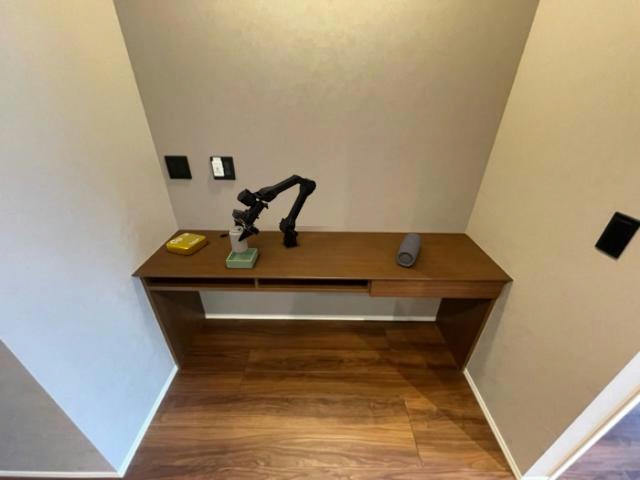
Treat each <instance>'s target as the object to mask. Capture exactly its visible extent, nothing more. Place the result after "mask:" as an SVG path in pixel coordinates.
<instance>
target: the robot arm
mask: <svg viewBox="0 0 640 480" xmlns="http://www.w3.org/2000/svg"><path fill="white" fill-rule="evenodd" d="M296 185H299V188H298V189H299V191H298V192H299V193H298V195H297V197H296V198H295V200H294V202H293V204H292V207H291V209H290V210H289V213H288V215H287V216H286V217H285V218H284V217H282V218H281V220H280V222H279V223H278V229H279V231H281V233H282V234H283V237H282V244H283V245H284V246H285V248H287V249H289V248H292V247H297V246H299V244H298V241H297V237H298V236H299V232H298V231H297V230H296V225H297V223H296V221H297V220H298V217H299V215H300V214H301V211H302V209H303V207H304V205H305V203H306V201H307V199H308V197H309V196H311V195H312V194H313V193H314V192H315V190H316V188H317V183H316V181H315V180H314V179H311V178H308V177H302V176H300V175H298V174H292V175H291V176H289V177H288V178H285V179H284V180H281V181H280V182H278V183H276V184H274V185H269V186H264V187H261V188H260V189H258V190H256V191H254V192H251V190H249V189H248V188H245V189H244V190H241V191H240V192H239V193H238V194H237V197H236V200H237V201H238V202H240V203H241V204H242V205H244V206H245V207H247V208H245V209H244V210H241V209H236V208H234V209H233V210H232V213H231V216H232V218H233V221H234V225H233V227H235V226H242V227H243V232H242V234H241V235H240V237H239V239H238V241H239V242H240V241H242V240H244V239H246V238H249V237H252V236H257V235H258V234H259V233H260V229H259V228H258V227H256V226H255V222H256V220H259V219H260V217H259V216H260V215H261V213H262V212H263V210H264V209H266V210H269V209H270V207H269V203H271V202H273V201H274V200H275V199H276V198H277V197H278V196H279V194H281V193H283V192H285V191H287V190H289V189H291V188H293V187H294V186H296Z"/></svg>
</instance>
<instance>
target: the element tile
mask: <svg viewBox="0 0 640 480" xmlns="http://www.w3.org/2000/svg"><path fill="white" fill-rule="evenodd" d="M207 244H208V242H207V237H206V236H205V235H201V234H196V233H191V232H184V233H182V234H180V235H178V236H177V237H175V238H173V239H172V240H170V241H168V242H166V244H165V245H166V248H167V251H168V252H170V253H175V254H180V255H183V256H190V255H193V254H195V252H197V251H199V250H200V249H202V248H203V247H204V246H206V245H207Z"/></svg>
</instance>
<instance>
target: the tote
mask: <svg viewBox="0 0 640 480" xmlns="http://www.w3.org/2000/svg"><path fill="white" fill-rule="evenodd" d="M258 256H259V253H258V248H251V247H248V249H247V250H246V251H245V252H243V253H235V252H234V251H233V250H232V249H231V252H230V253H229V255H228V257H227V258H226V260H225V265H226V268H227V269H233V268H234V269H253V267H254V265H255V263H256V260H257V259H258Z"/></svg>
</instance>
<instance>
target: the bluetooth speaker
mask: <svg viewBox="0 0 640 480" xmlns="http://www.w3.org/2000/svg"><path fill="white" fill-rule="evenodd" d="M421 239H422V238H421V236H420V235H419V234H418V233H417V232H408V233H407V234H406V235H405V236H404V238H403V240H402V242H401V244H400V246H399V249H398V251H397V254H396V261H397V263H398V264H399V265H401V266H403V267H411V266H412V265H414V263H415V262H416V259H417V257H418V254H419V252H420V249H421V244H422V240H421Z"/></svg>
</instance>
